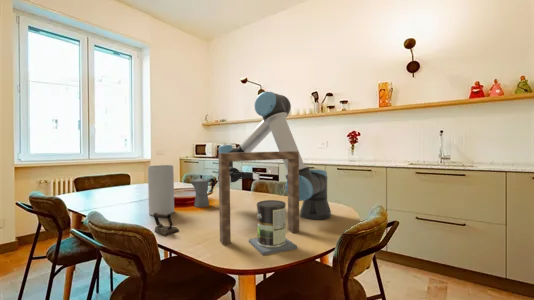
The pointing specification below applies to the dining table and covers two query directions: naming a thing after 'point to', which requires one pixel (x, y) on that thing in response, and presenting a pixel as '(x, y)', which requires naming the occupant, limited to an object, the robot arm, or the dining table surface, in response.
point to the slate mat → (266, 250)
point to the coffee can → (271, 223)
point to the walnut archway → (252, 156)
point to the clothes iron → (164, 229)
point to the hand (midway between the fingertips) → (244, 178)
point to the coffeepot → (202, 191)
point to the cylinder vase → (161, 189)
